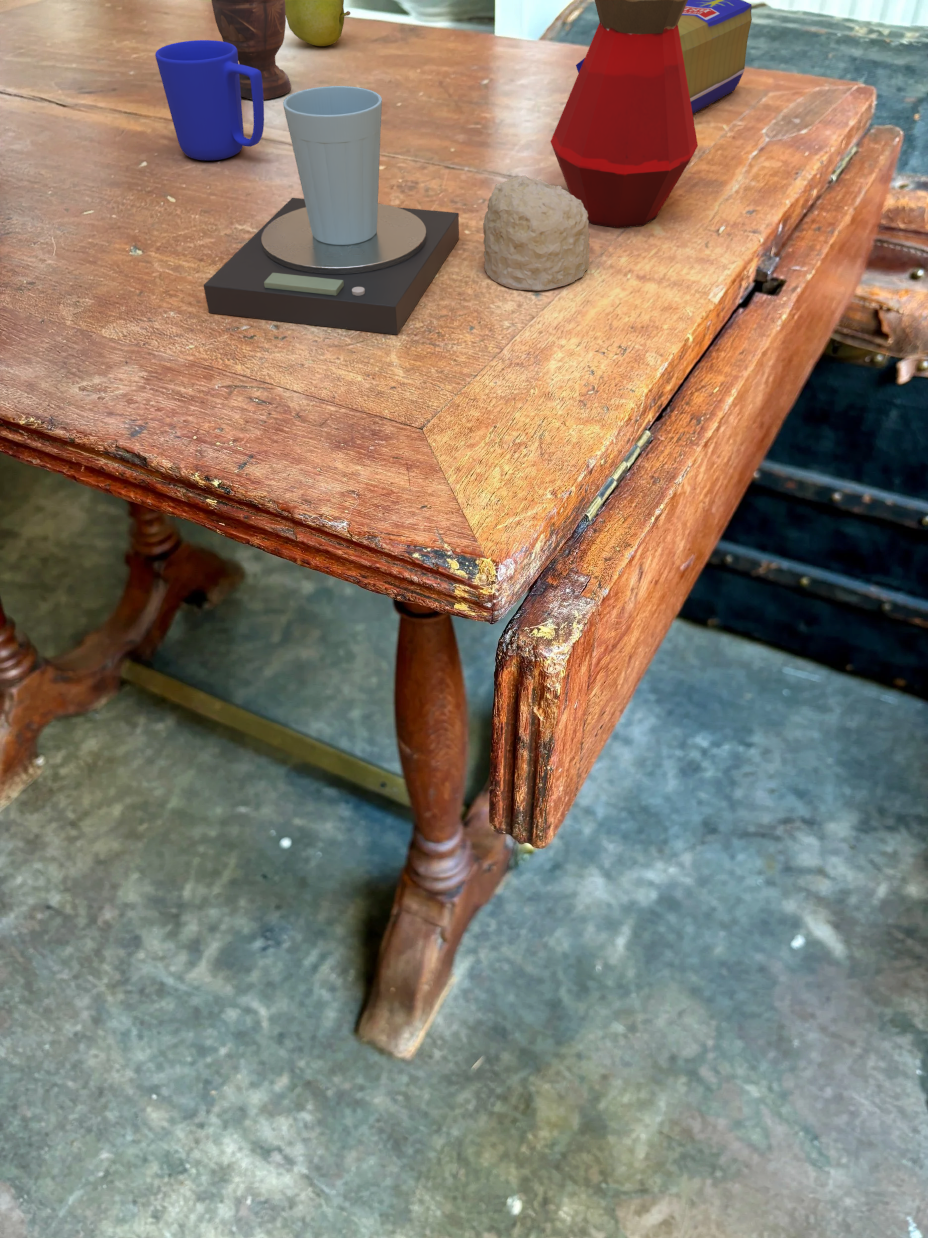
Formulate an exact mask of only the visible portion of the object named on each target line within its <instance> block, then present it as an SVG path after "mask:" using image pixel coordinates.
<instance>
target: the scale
mask: <svg viewBox="0 0 928 1238" xmlns="http://www.w3.org/2000/svg"><path fill="white" fill-rule="evenodd" d="M305 207H306V204H305V200H304V198H302V197H301V198H300V197H291V198H290V199H289V200H288V201H287V202H286V203H285V204H284V205H283V206H282V207H281V208H280V209H279V210H278V211H277V212H275V214H274V215H273V216H272V217H271V218H270V219H268V221H267V222H266V223H265V224H264V225H263V226H262V227H261V228H260V229H258V231H257V232H255V234H254V235H252V237H250V238H249V239H248V241H247V242H245V244H243V245H242V246H241V247H240V248H239V249H238V250H237V252H235V253H234V254H233V255H232V256H231V257H230V258H229V259H228V260H227V261H226V262H225V263H224V264H223V265H222V266H221V267H219V269H218V270H217V271H216V272H215V273H214V274H213V275H212V276H211V277H209V279H208V280H207V281H206V282H205V283H204V284H203V290H204V296H205V300H206V305H207V310H208V314H214V315H225V316H233V317H241V318H248V319H258V320H265V321H275V322H283V323H292V324H293V323H294V324H301V325H309V326H318V327H325V328H326V327H327V328H335V329H344V330H351V331H360V332H368V333H378V334H386V335H387V334H388V335H395V336H396V335H398V334H399V333H400V331H401V330H402V328H403V327H404V325H405V323H406V322H407V320H408V319H409V317H410V316H411V314H412V313H413V311H414V309H415V308H416V306H417V305H418V303H419V302H420V300H421V298H422V297H423V295H424V294H425V292H426V291H427V289H428V287H429V286H430V285H431V283H432V282H433V280H434V278H435V277H436V275H437V274H438V273H439V271H440V270H441V268H442V266H443V265H444V263H445V261H446V260H447V258H448V257H449V255H450V254H451V252H452V250H454V247H455V246H456V244H457V243H458V241H459V240H460V214H459V212H451V211H441V210H432V209H419V208H410V207H409V208H408V207H397V206H396V207H397V208H400V209H403V210H406V211H408V212H410V213H412V214H414V215H415V216H417V217H418V218H419V219H421V221H422V222H423V223H424V225H425V227H426V237H427V238H426V242H425V244H424V246H423V248H422V249H421V250H420V251H419V252H418V253H417V254H415V255H414V256H412V257H411V258H409V259H407V260H405V261H403V262H401V263H399V264H396V265H393V266H390V267H387V268H383V269H379V270H374V271H369V272H363V273H354V274H318V273H310V272H303V271H299V270H294V269H291V268H288V267H285V266H283V265H280V264H278V263H276V262H275V261H273V260H272V259H270V258H269V257H268V256H267V255H266V253H265V252H264V250H263V247H262V240H261V237H262V233H263V231H264V229H265V228H266V227H267V226H268V225H269V224H270V223H271V222H272V221H274V220H275V219H277V218H279V217H281V216H283V215H285V214H287V213H289V212H292V211H295V210H298V209H301V208H305Z"/></svg>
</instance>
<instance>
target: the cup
mask: <svg viewBox="0 0 928 1238" xmlns="http://www.w3.org/2000/svg"><path fill="white" fill-rule="evenodd" d="M282 106H283V111H284V115H285V120H286V124H287V128H288V132H289V136H290V141H291V144H292V145H291V146H292V150H293V155H294V159H295V163H296V168H297V172H298V177H299V182H300V186H301V190H302V195H303V199H304V200H305V204H306V209H307V213H308V218H309V222H310V226H311V231H312V235H313V236H314V238H316V239H317V240H318V241H320V242H323V243H327V244H333V245H351V244H356V243H361V242H364V241H366V240H368V239H370V238H372V237H373V236H374V235H375V234H376V232H377V215H378V203H379V188H380V158H381V156H380V155H381V132H382V131H381V129H382V115H383V114H382V113H383V112H382V111H383V99H382V96H381V95H380V94H379V93H378V92H376V91H374V90H371V89H368V88H363V87H358V86H351V85H350V86H349V85H330V86H317V87H312V88H311V87H310V88H306V89H303V90H299V91H296V92H293V93H291V94H290V95H288V96H286V97H285V98H284V100H283V102H282Z"/></svg>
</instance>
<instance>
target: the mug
mask: <svg viewBox="0 0 928 1238" xmlns="http://www.w3.org/2000/svg"><path fill="white" fill-rule="evenodd" d="M154 56H155V60H156V64H157V67H158V71H159V75H160V79H161V82H162V86H163V90H164V93H165V97H166V101H167V104H168V105H167V106H168V109H169V113H170V116H171V120H172V124H173V127H174V131H175V135H176V139H177V142H178V145H179V148H180V149H181V151H182V152H183V154H185V156H187V157H188V158H191V159H193V160H197V161H208V162H209V161H219V160H221V161H222V160H224V159H228V158H232V157H233V156H236V155H238V154H239V153H240V152H241V151H242V149H243V147H247V148H251V147H254V146H255V145H257V144H259V142H260V141H261V139H262V137H263V134H264V126H265V102H264V99H263V85H262V75H261V72H260V71H259V70H258V69H255V68H252V67H249V66H245V65H241V64H239V61H238V53H237V48H236V47H235V46H234V45H232V44H230V43H227V42H223V40H210V39H199V40H198V39H197V40H186V41H178V42H175V43H171V44H167V45H165V46H162V47H160V48H158V49H157V50H156V51H155V54H154ZM239 74H242V75H245V76H248V77H249V78H250V81H251V89H252V99H251V101H252V113H253V114H252V115H253V116H252V117H253V126H252V134H251V137H250V138H248V137H245V133H244V131H245V130H244V120H243V107H242V97H241V92H240V79H239Z"/></svg>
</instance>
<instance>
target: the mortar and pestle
mask: <svg viewBox="0 0 928 1238" xmlns="http://www.w3.org/2000/svg"><path fill="white" fill-rule="evenodd" d="M211 6H212V11H213V16H214V20H215V24H216V26H217V29H218V32H219V34H220V36H221V38H222V42H227V43H230V44H232V45H234V46H235V47H236V48H237V53H238V64H241V65H245V66H249V67H252V68H255V69H258V70H259V71H260V72H261V75H262V85H263V99H264V100H271V99H275V98H279V97H281V96H284V95H286V94H287V93H289V92H291V91H292V84H291V80H290V78H289V76H288V73H286V71H284V70H283V69H281V68H280V67H279V66H278V65H277V64H276V63H277V62H276V55H277V54H278V52H279V50H280V49H281V47H282V46H283V43H284V40H285V34H286V24H287V18H286V15H285V0H211ZM239 79H240V92H241V98H244V99H247V100H252V89H251V81H250V78H249V77H248V76H245V75H242V74H239Z"/></svg>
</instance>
